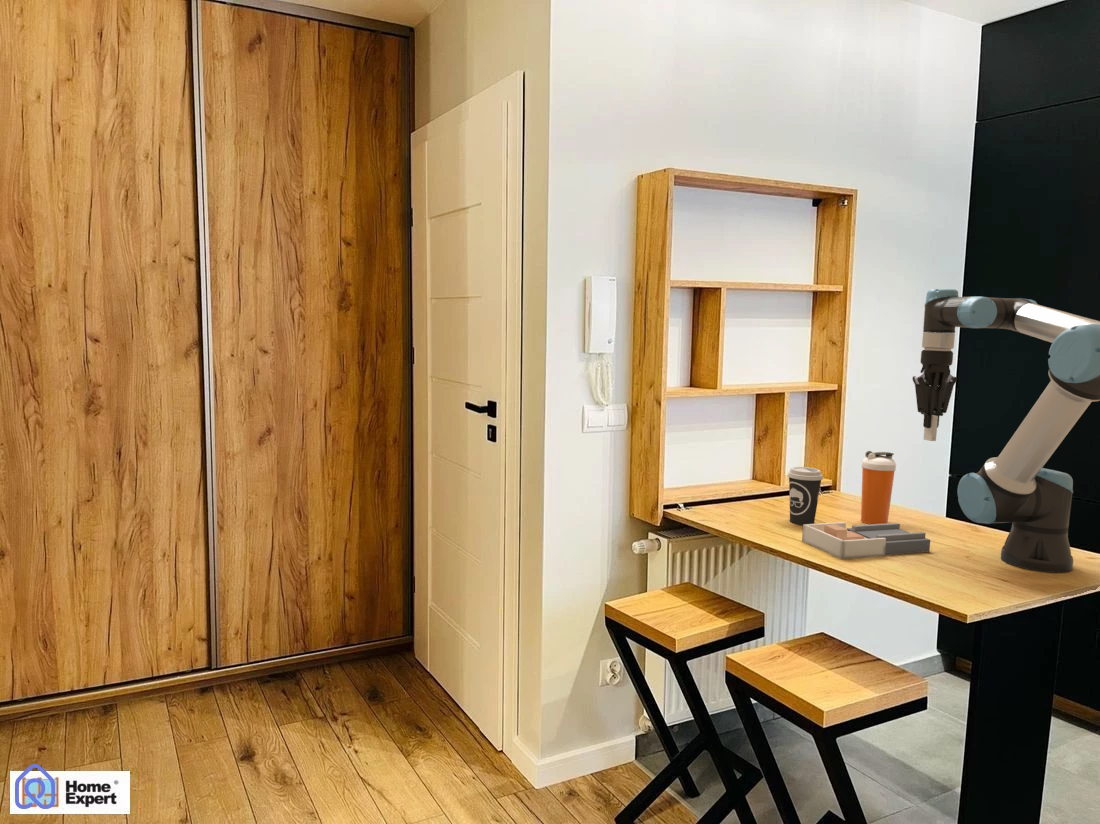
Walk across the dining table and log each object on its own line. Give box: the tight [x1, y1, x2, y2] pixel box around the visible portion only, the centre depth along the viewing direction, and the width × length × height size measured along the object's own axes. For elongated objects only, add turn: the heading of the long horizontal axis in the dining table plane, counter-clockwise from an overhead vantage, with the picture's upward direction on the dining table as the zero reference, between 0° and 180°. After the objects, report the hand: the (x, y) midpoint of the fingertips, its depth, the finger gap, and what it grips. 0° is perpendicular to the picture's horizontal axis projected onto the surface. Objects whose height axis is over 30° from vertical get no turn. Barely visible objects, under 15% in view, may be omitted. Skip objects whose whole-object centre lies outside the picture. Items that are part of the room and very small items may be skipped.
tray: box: [801, 521, 886, 560], centre depth 212 cm, size 16×12×4 cm
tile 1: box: [824, 524, 847, 540], centre depth 211 cm, size 5×5×3 cm
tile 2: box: [847, 531, 864, 540], centre depth 212 cm, size 5×5×3 cm
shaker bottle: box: [860, 450, 897, 525], centre depth 239 cm, size 9×9×20 cm
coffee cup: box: [787, 466, 824, 526], centre depth 236 cm, size 10×10×15 cm
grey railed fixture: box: [846, 522, 931, 556], centre depth 216 cm, size 14×14×4 cm
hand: (929, 440), depth 222 cm, fingers closed
